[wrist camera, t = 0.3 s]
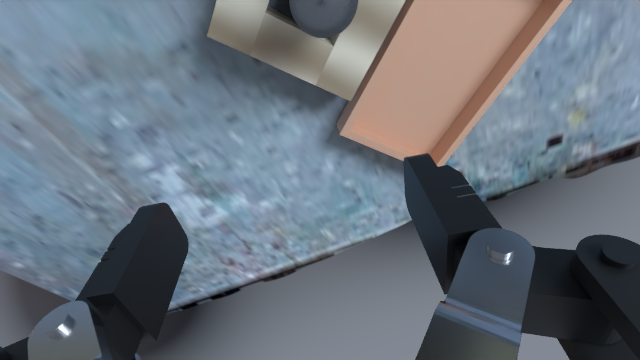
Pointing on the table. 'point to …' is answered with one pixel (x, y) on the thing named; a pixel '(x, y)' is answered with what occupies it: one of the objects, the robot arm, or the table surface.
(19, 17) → the table surface
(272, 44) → the block
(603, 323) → the robot arm
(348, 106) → the tray
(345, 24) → the steel pin
